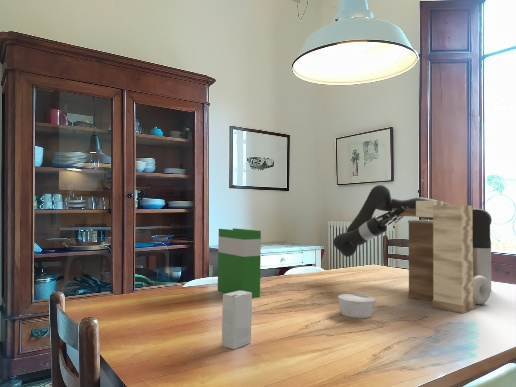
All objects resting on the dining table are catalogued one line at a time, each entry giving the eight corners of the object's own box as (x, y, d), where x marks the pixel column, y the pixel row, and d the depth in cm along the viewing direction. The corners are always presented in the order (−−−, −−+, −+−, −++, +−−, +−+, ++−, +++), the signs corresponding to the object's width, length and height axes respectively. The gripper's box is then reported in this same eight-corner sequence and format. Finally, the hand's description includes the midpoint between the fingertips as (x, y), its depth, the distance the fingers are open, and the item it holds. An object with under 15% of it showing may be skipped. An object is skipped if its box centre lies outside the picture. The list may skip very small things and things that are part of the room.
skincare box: (238, 339, 95) (239, 289, 96) (252, 343, 93) (253, 292, 93) (220, 346, 91) (221, 293, 91) (234, 350, 88) (235, 296, 88)
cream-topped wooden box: (412, 291, 154) (412, 219, 156) (450, 295, 148) (450, 220, 149) (408, 297, 144) (408, 220, 145) (448, 302, 137) (448, 221, 138)
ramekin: (376, 312, 123) (376, 295, 124) (374, 321, 113) (374, 303, 113) (340, 308, 127) (340, 292, 127) (335, 317, 117) (335, 299, 117)
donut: (475, 307, 131) (475, 277, 131) (465, 305, 134) (465, 275, 134) (492, 304, 136) (492, 275, 136) (482, 301, 139) (482, 273, 139)
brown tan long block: (398, 215, 160) (398, 201, 160) (443, 217, 147) (443, 201, 147) (389, 215, 156) (389, 200, 156) (434, 217, 142) (434, 200, 142)
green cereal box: (217, 290, 152) (218, 228, 153) (233, 288, 156) (234, 228, 157) (243, 299, 137) (244, 231, 138) (259, 297, 142) (260, 230, 143)
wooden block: (444, 303, 136) (444, 205, 138) (474, 308, 129) (473, 205, 130) (432, 307, 130) (431, 205, 131) (462, 313, 123) (461, 205, 124)
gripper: (359, 220, 162) (392, 199, 151) (377, 220, 171) (410, 200, 160) (366, 237, 159) (401, 217, 148) (385, 235, 168) (419, 216, 157)
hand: (405, 208), depth 154 cm, fingers closed on brown tan long block, 3 cm apart
